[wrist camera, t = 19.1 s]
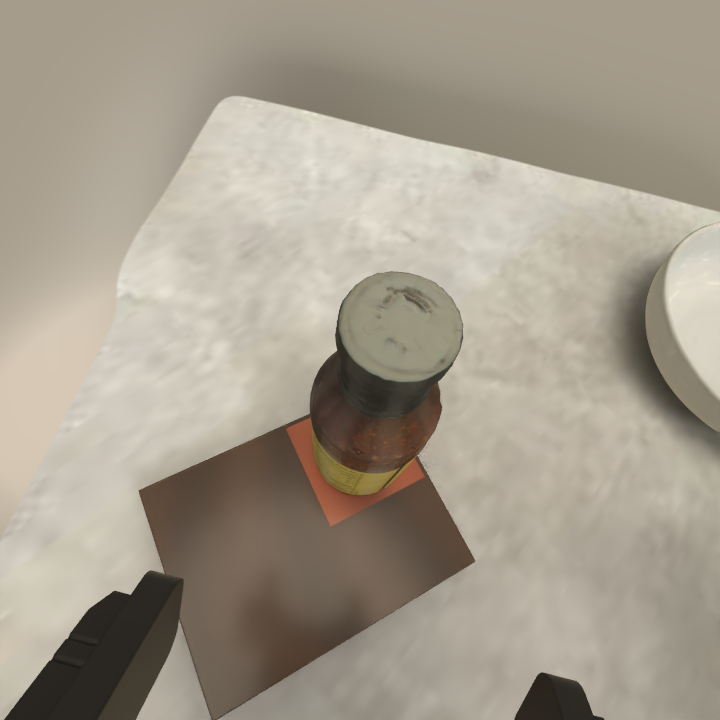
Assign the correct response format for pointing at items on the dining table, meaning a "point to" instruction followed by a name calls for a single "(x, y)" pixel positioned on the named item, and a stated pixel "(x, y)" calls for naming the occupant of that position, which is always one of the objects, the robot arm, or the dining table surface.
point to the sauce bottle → (382, 380)
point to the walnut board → (290, 558)
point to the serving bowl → (689, 322)
